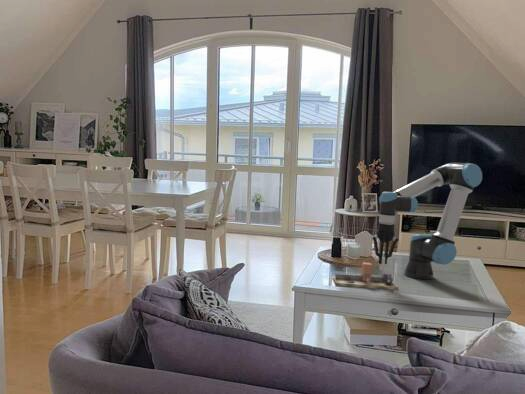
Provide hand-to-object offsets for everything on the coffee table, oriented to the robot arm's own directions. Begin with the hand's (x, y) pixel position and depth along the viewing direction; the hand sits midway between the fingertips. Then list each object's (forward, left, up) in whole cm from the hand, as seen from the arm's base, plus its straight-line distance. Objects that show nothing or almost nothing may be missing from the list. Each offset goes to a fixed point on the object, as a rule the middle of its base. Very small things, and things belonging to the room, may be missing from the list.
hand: (381, 270), depth 240 cm
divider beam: (+8, +2, -7) cm, 11 cm away
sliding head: (+7, +2, -6) cm, 9 cm away
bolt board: (+8, +2, -7) cm, 11 cm away
